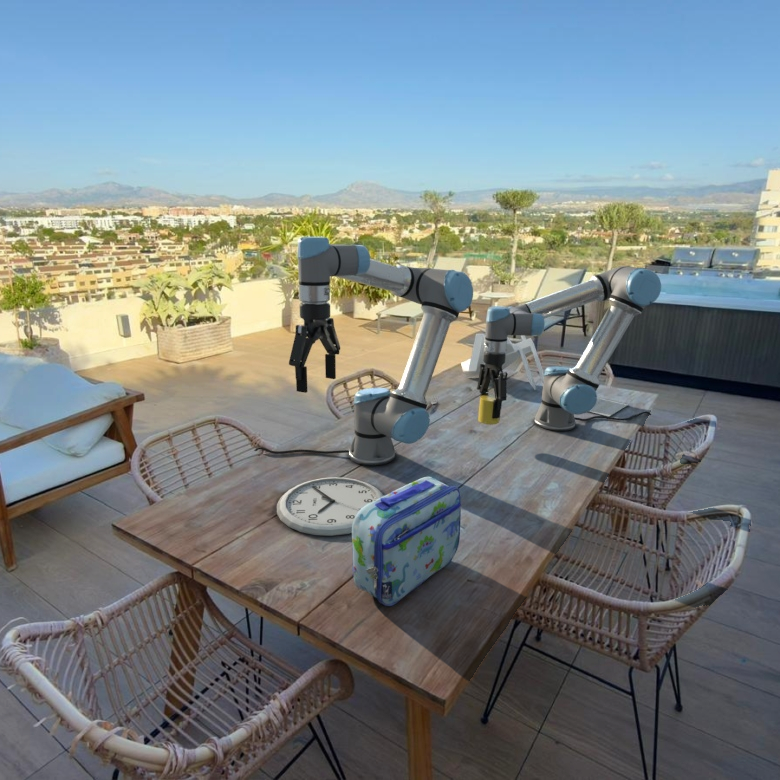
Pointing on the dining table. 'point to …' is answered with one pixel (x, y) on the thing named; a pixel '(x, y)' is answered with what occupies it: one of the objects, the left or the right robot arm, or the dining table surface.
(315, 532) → the wall clock
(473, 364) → the white plastic object
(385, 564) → the lunch box
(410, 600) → the dining table surface
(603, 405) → the grey flat slab
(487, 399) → the canister
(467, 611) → the dining table surface
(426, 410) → the fork
